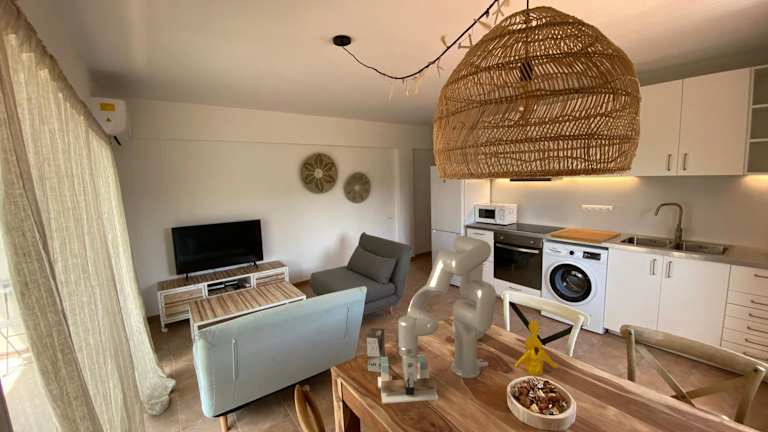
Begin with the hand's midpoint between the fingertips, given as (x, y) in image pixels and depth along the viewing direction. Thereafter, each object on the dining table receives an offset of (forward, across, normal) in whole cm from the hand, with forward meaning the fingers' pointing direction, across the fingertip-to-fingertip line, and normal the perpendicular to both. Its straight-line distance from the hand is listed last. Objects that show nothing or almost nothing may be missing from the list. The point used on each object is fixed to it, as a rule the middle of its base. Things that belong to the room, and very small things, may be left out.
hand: (409, 390), depth 123 cm
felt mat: (+2, 0, 0) cm, 2 cm away
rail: (-1, 0, 0) cm, 1 cm away
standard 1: (+2, +8, +9) cm, 12 cm away
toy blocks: (+2, +8, -7) cm, 11 cm away
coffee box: (+2, +20, +12) cm, 23 cm away
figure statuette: (+2, +9, -56) cm, 57 cm away
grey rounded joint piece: (+2, +39, -37) cm, 54 cm away
